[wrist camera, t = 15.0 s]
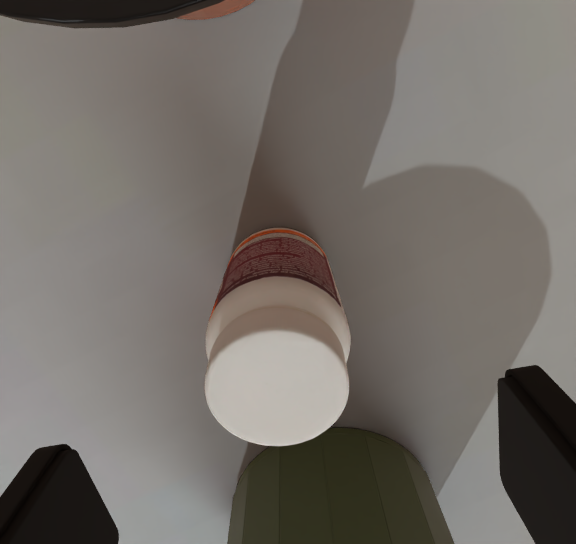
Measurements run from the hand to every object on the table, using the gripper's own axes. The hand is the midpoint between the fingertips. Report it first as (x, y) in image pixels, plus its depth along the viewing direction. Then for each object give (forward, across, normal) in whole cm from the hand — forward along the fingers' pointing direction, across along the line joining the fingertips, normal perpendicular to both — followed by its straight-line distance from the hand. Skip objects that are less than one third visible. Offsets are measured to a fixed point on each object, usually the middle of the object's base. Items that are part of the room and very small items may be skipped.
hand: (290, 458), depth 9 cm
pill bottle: (+11, 0, 0) cm, 11 cm away
